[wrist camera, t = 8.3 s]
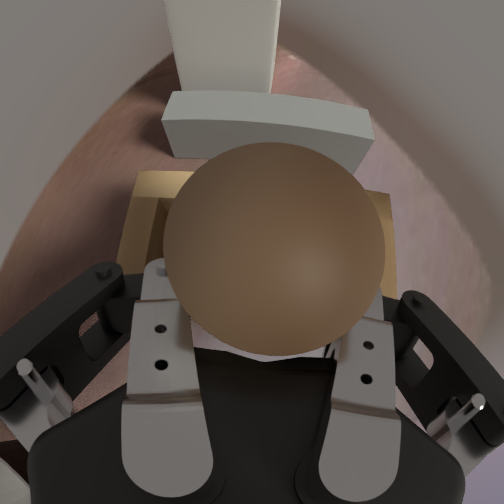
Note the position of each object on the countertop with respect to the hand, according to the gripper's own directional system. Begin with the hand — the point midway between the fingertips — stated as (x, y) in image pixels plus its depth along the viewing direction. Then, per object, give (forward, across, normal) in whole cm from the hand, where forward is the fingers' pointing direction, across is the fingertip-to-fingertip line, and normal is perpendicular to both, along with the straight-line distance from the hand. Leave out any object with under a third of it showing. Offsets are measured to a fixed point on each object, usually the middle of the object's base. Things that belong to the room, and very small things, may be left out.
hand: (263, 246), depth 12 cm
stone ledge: (+11, 0, -3) cm, 11 cm away
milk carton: (+16, +4, -8) cm, 18 cm away
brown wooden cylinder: (+2, 0, +5) cm, 6 cm away
